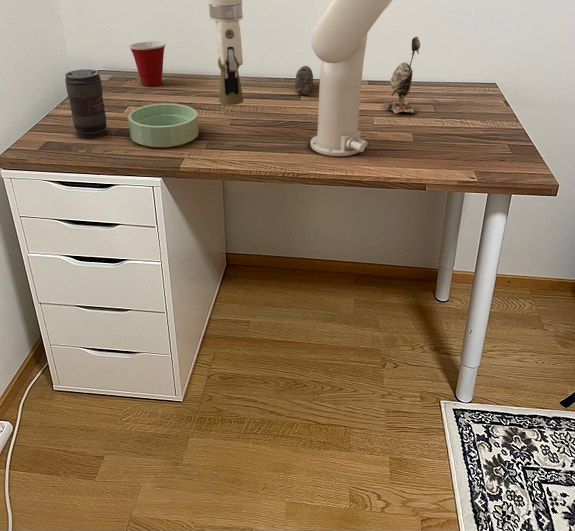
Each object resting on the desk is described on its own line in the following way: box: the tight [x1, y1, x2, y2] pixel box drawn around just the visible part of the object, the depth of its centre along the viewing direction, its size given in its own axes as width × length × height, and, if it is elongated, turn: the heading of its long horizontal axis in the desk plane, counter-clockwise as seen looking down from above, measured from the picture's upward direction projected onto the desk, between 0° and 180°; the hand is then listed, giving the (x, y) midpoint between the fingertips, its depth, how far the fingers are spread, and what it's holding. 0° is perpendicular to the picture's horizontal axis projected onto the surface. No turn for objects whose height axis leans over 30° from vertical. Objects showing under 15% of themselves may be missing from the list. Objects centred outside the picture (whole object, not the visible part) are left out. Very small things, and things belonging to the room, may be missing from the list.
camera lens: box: [64, 68, 107, 140], centre depth 151 cm, size 8×8×15 cm
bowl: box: [127, 103, 200, 148], centre depth 153 cm, size 17×17×6 cm
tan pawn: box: [217, 56, 244, 106], centre depth 150 cm, size 6×6×11 cm
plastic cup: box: [128, 40, 167, 88], centre depth 186 cm, size 11×11×12 cm
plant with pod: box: [383, 36, 421, 114], centre depth 168 cm, size 8×11×20 cm
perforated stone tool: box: [294, 65, 314, 96], centre depth 185 cm, size 15×5×7 cm, turn 174°
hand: (230, 91), depth 151 cm, fingers closed on tan pawn, 3 cm apart
